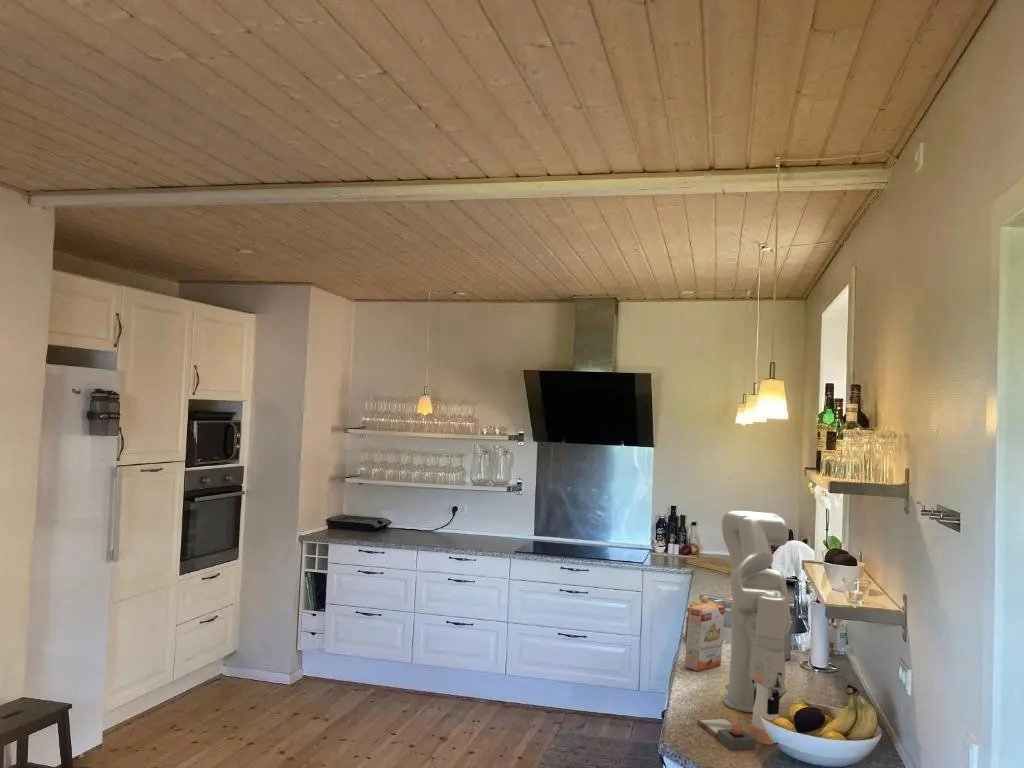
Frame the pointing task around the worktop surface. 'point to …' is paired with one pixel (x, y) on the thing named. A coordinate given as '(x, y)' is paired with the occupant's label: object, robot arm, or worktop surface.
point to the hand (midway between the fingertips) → (765, 708)
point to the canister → (696, 603)
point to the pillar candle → (787, 643)
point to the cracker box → (704, 636)
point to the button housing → (736, 740)
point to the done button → (736, 729)
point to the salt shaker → (761, 712)
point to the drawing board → (715, 725)
